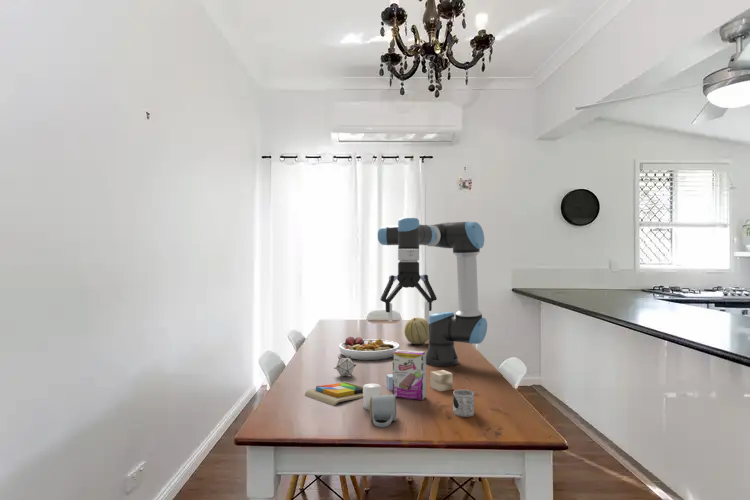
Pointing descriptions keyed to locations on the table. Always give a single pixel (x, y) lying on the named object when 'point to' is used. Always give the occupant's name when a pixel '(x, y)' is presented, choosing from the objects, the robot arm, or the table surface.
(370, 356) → the bowl
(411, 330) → the cantaloupe
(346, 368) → the game die
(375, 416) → the ceramic mug
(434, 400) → the table surface
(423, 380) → the candy bar box
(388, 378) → the blue brick
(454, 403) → the mug
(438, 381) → the oak cube
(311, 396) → the wooden puzzle
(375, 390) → the white cylinder
